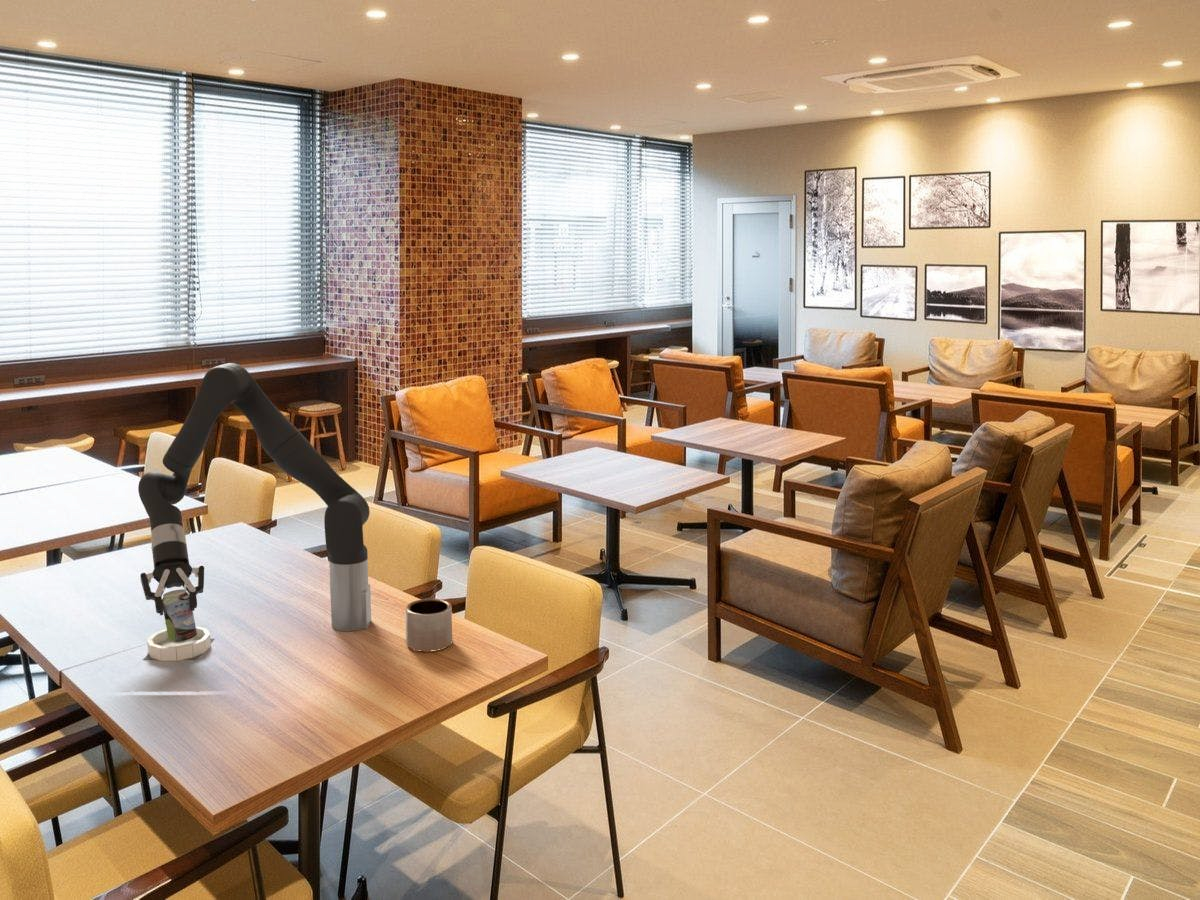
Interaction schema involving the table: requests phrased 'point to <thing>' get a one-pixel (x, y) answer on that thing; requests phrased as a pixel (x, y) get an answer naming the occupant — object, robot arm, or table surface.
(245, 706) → the table surface
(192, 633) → the beverage can
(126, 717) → the table surface
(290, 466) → the robot arm
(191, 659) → the mat
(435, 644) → the planter
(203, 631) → the bowl
